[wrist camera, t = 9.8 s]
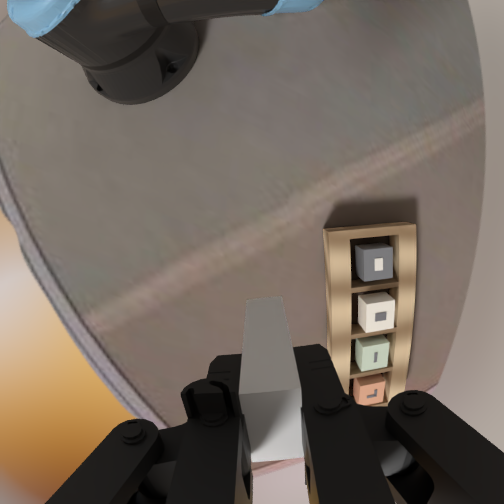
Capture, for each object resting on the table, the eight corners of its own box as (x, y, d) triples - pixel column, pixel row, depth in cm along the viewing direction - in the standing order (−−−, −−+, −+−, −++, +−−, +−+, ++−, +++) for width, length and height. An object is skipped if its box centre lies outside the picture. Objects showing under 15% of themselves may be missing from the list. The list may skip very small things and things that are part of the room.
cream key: (358, 295, 36) (366, 304, 33) (385, 291, 36) (395, 300, 33) (358, 322, 37) (366, 333, 34) (384, 318, 37) (393, 328, 34)
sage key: (355, 336, 38) (363, 347, 35) (380, 331, 38) (389, 342, 35) (354, 359, 39) (361, 371, 36) (379, 355, 39) (387, 366, 36)
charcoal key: (354, 245, 36) (363, 250, 33) (382, 242, 36) (393, 247, 33) (355, 274, 37) (364, 281, 33) (382, 271, 37) (393, 278, 33)
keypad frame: (322, 228, 36) (328, 232, 34) (405, 221, 36) (416, 224, 33) (326, 406, 41) (330, 418, 38) (394, 392, 41) (401, 403, 38)
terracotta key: (354, 373, 39) (360, 386, 36) (377, 369, 39) (385, 381, 36) (352, 393, 40) (358, 407, 37) (375, 389, 40) (382, 402, 37)
